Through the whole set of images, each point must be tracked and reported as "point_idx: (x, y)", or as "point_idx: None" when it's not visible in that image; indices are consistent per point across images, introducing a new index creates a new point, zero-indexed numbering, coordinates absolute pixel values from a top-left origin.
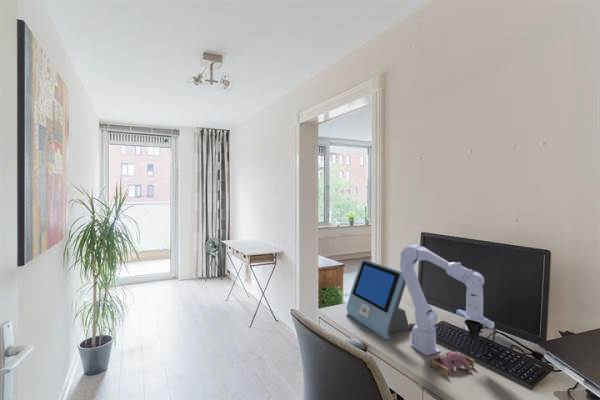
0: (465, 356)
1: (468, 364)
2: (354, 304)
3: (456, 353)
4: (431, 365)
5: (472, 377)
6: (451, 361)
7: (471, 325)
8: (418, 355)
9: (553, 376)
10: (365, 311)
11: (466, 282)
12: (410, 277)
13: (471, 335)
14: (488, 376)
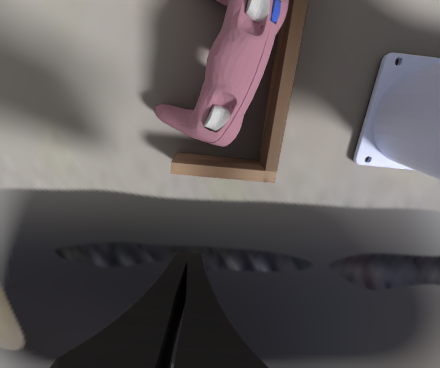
0: (217, 168)
1: (164, 113)
2: None
3: (219, 81)
4: None
5: (124, 73)
6: (266, 116)
7: (137, 359)
8: (419, 11)
9: (20, 337)
10: None
11: None
12: None
13: (188, 270)
14: (101, 150)
